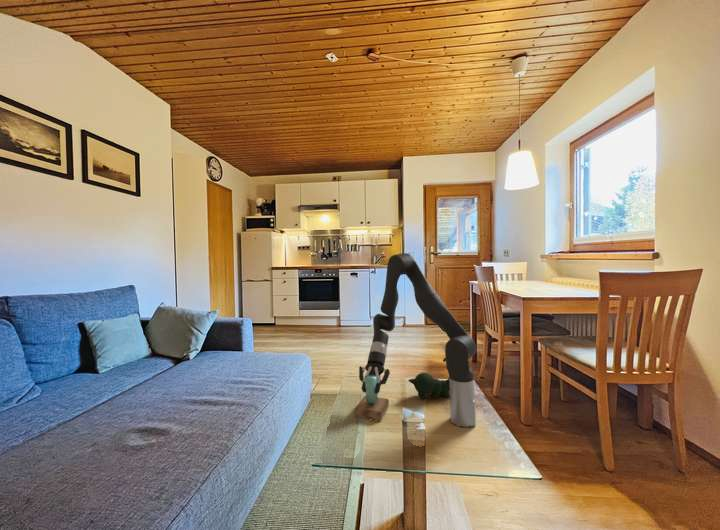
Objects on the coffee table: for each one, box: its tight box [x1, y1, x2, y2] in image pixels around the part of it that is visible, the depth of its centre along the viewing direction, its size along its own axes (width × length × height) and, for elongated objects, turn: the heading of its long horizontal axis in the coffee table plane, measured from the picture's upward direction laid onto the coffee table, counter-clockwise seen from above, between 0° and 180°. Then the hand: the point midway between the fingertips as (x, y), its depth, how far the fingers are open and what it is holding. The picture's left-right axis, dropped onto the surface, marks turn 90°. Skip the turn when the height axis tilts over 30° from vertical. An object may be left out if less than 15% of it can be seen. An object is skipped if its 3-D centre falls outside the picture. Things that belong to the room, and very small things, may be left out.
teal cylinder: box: [364, 374, 379, 403], centre depth 130 cm, size 5×5×10 cm
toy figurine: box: [407, 356, 450, 399], centre depth 142 cm, size 9×19×25 cm
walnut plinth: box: [354, 395, 390, 422], centre depth 130 cm, size 11×11×4 cm
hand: (370, 392), depth 128 cm, fingers closed on teal cylinder, 5 cm apart
